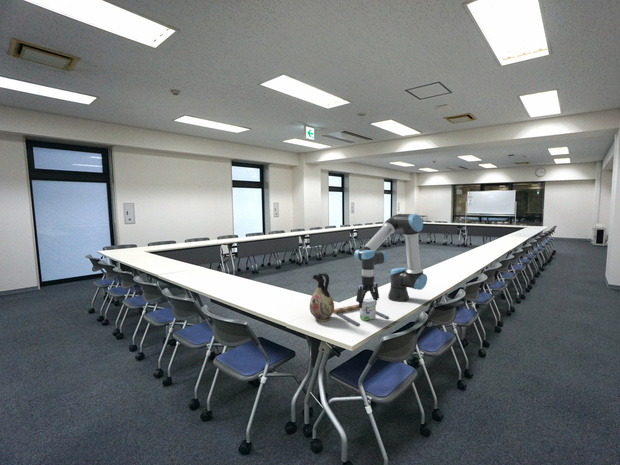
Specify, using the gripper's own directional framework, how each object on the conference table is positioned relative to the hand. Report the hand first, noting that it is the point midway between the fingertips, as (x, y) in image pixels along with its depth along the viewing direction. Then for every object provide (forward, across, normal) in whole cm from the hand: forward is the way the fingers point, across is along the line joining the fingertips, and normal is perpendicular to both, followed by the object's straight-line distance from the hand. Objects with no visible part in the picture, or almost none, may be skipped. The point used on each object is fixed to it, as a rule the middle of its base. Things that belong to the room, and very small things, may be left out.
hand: (367, 311), depth 184 cm
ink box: (+5, 0, 0) cm, 5 cm away
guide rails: (+5, 0, -6) cm, 8 cm away
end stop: (+5, 0, -18) cm, 19 cm away
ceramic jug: (+5, +24, -14) cm, 28 cm away
